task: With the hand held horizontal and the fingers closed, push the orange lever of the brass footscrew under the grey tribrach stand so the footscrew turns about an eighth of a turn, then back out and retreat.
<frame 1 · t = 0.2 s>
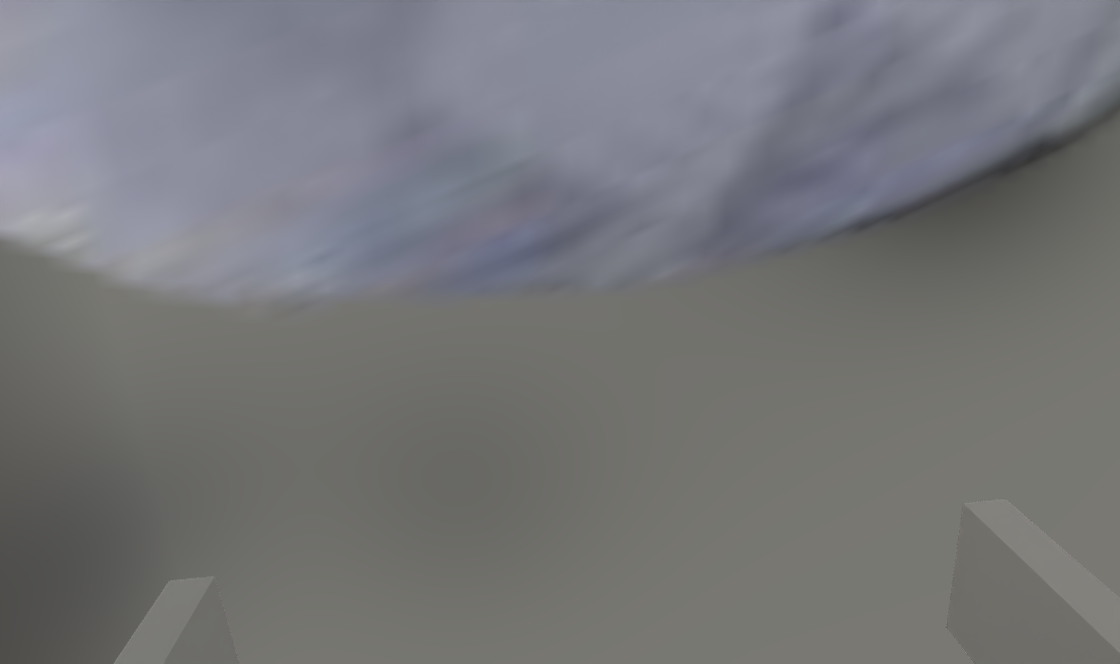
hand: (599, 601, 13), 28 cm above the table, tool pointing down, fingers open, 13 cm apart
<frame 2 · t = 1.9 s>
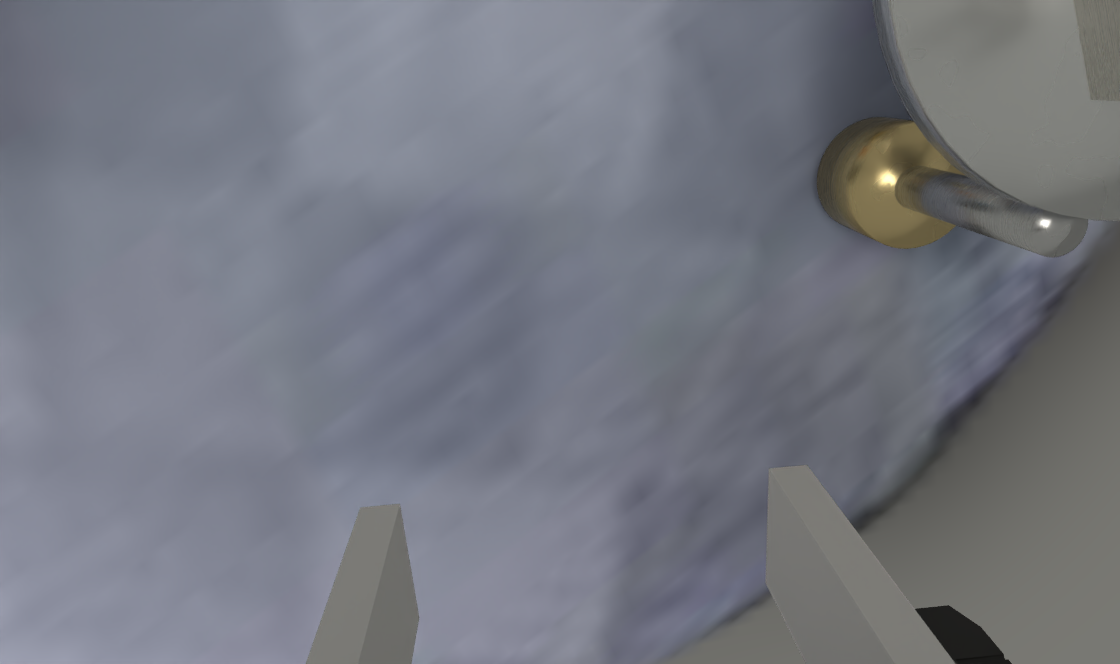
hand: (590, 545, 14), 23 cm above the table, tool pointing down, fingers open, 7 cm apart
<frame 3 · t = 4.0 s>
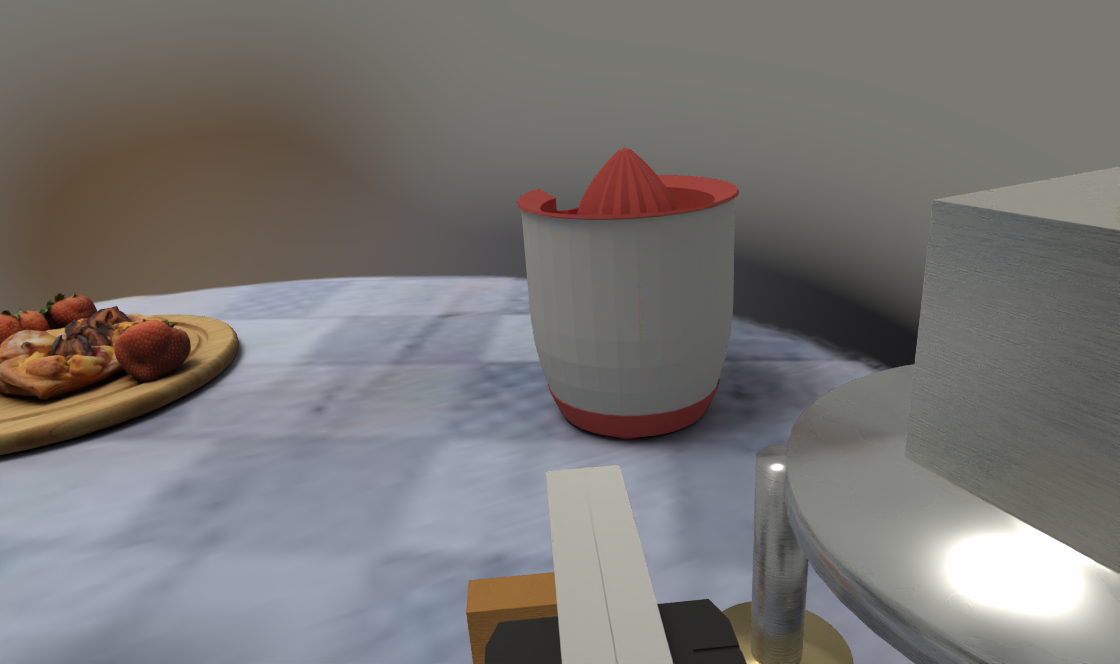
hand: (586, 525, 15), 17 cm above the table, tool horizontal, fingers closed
wooden plate with food: (66, 390, 71), on the table
citrus juicer: (626, 405, 59), on the table
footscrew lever: (663, 629, 26), point 7 cm above the table, hinge at 0.0°
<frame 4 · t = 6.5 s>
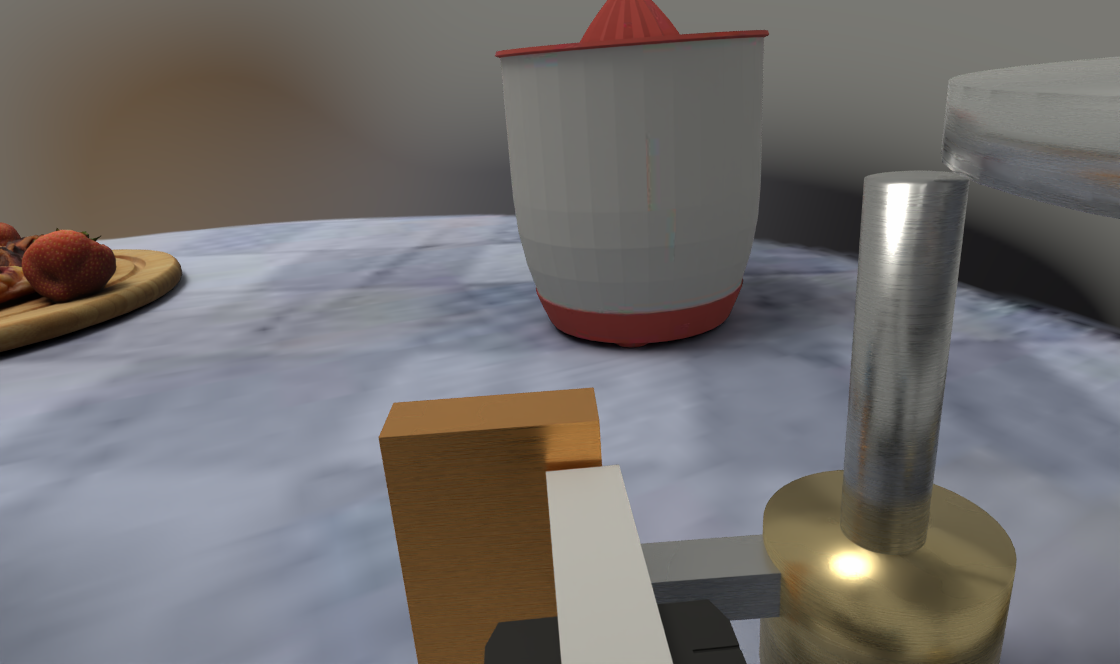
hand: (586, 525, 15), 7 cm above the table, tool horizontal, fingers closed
citrus juicer: (630, 317, 49), on the table
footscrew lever: (703, 488, 16), point 7 cm above the table, hinge at 2.3°, touching gripper
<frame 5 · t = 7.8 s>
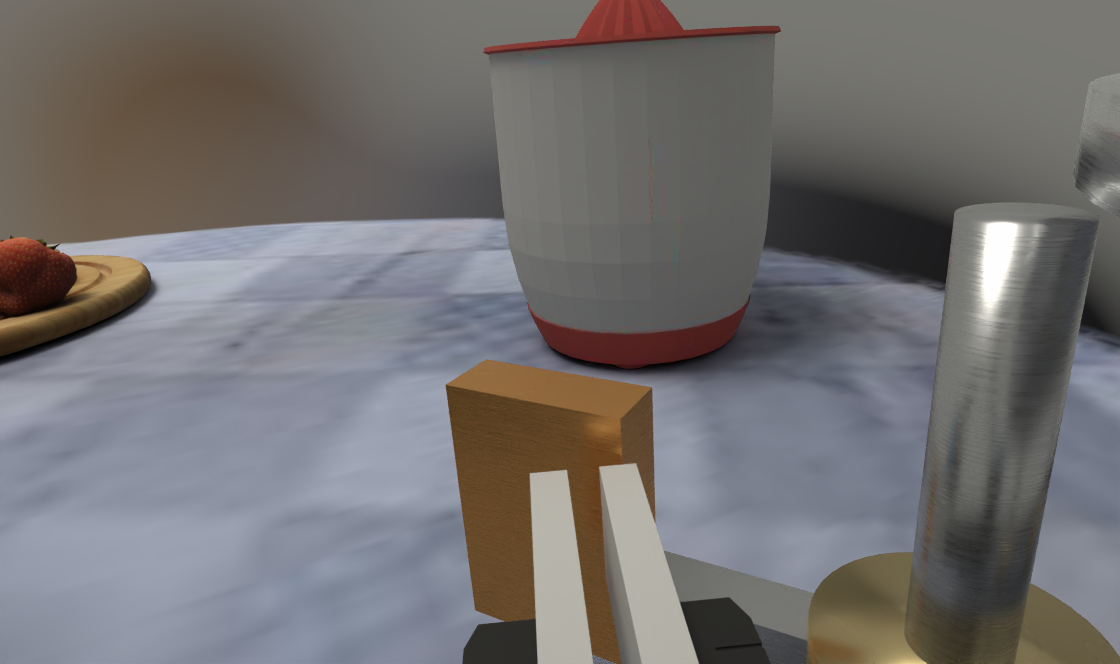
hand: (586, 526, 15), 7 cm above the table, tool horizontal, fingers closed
citrus juicer: (629, 333, 46), on the table
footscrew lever: (741, 520, 15), point 7 cm above the table, hinge at 34.3°, touching gripper
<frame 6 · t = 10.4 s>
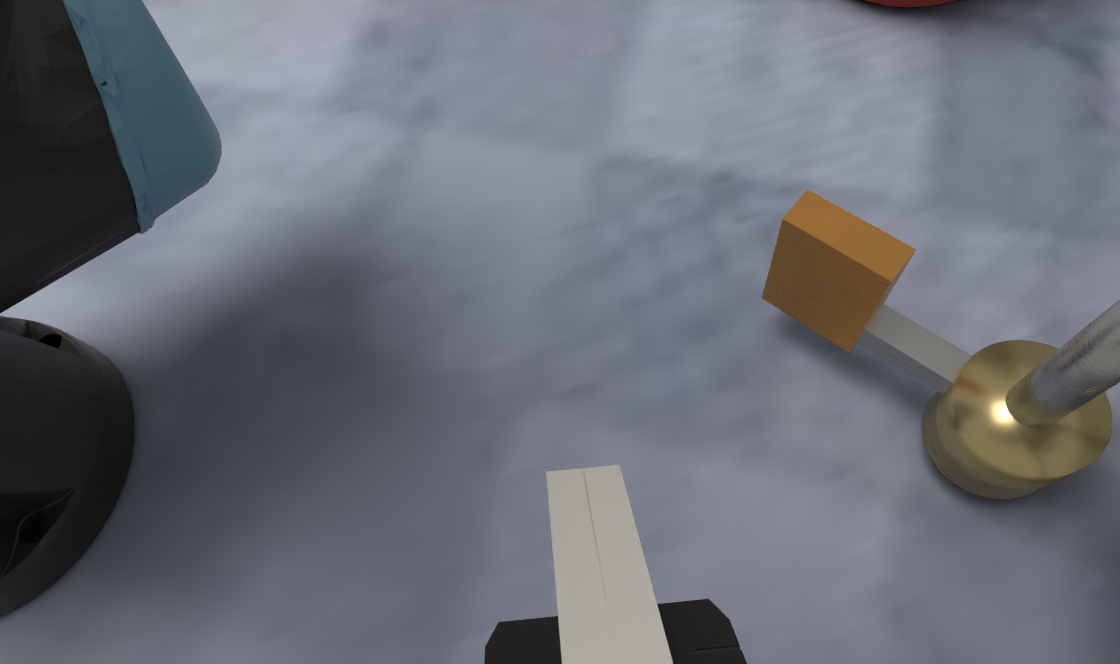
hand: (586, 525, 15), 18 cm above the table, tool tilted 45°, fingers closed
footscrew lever: (942, 327, 27), point 7 cm above the table, hinge at 34.5°
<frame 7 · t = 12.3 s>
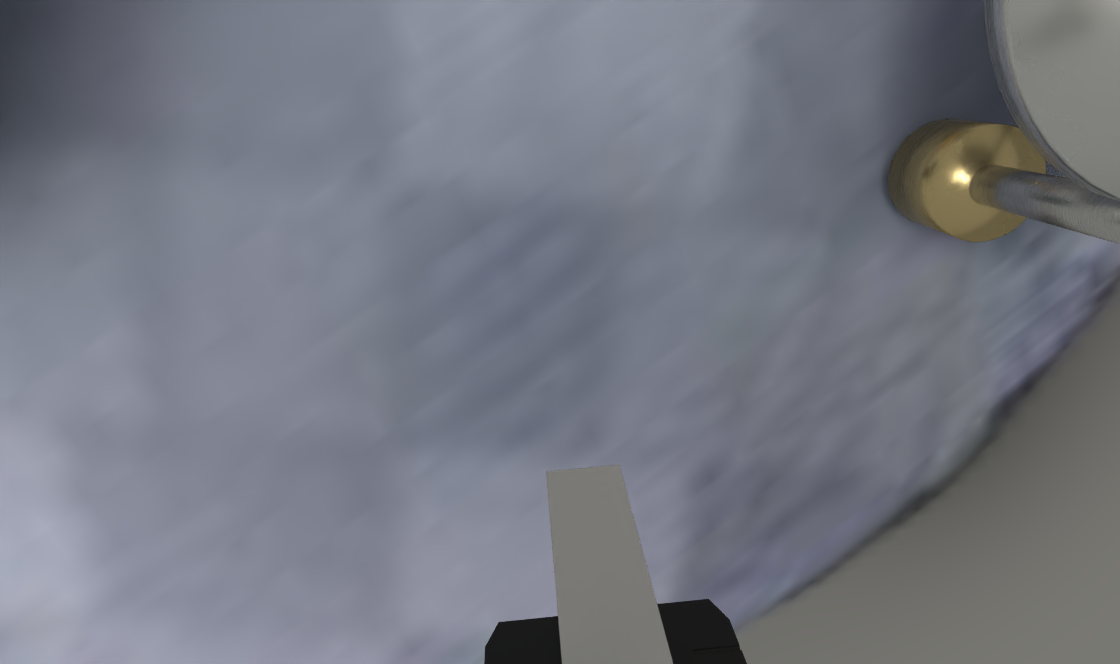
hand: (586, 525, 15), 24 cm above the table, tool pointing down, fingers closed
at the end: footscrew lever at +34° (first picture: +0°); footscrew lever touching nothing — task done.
